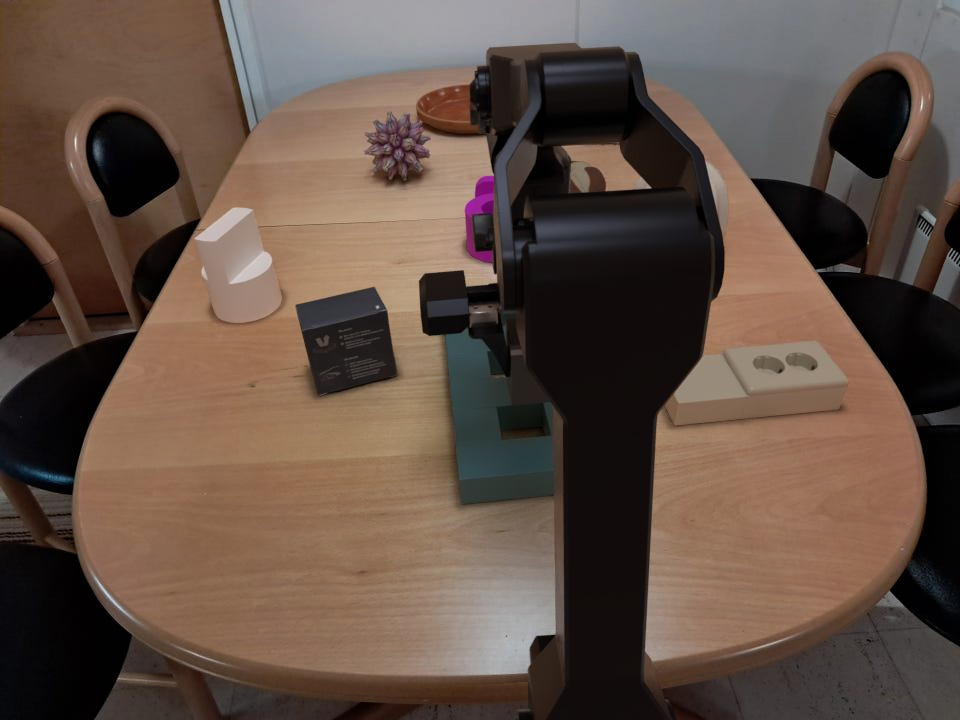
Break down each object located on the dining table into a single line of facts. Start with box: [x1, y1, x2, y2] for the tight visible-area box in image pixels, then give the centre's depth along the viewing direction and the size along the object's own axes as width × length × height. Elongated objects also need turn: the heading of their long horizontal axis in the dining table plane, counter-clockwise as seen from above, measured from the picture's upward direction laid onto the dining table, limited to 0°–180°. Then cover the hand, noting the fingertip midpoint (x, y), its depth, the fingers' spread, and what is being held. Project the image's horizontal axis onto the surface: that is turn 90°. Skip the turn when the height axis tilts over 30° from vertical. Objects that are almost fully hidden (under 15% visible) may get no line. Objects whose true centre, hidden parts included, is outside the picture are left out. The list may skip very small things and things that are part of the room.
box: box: [294, 286, 398, 397], centre depth 78 cm, size 9×6×10 cm, turn 110°
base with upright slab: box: [194, 207, 283, 324], centre depth 90 cm, size 9×9×12 cm
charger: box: [505, 318, 550, 406], centre depth 63 cm, size 4×4×7 cm
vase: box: [632, 159, 730, 240], centre depth 97 cm, size 14×14×13 cm
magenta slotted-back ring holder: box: [464, 175, 494, 264], centre depth 104 cm, size 16×10×6 cm, turn 177°
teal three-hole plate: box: [444, 309, 554, 505], centre depth 77 cm, size 32×14×4 cm, turn 5°
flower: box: [363, 109, 432, 182], centre depth 121 cm, size 12×12×12 cm
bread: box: [570, 160, 607, 193], centre depth 115 cm, size 11×11×5 cm
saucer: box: [415, 83, 479, 135], centre depth 145 cm, size 23×23×4 cm
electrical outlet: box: [664, 340, 850, 427], centre depth 74 cm, size 7×4×18 cm
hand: (530, 371), depth 64 cm, fingers closed on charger, 4 cm apart
